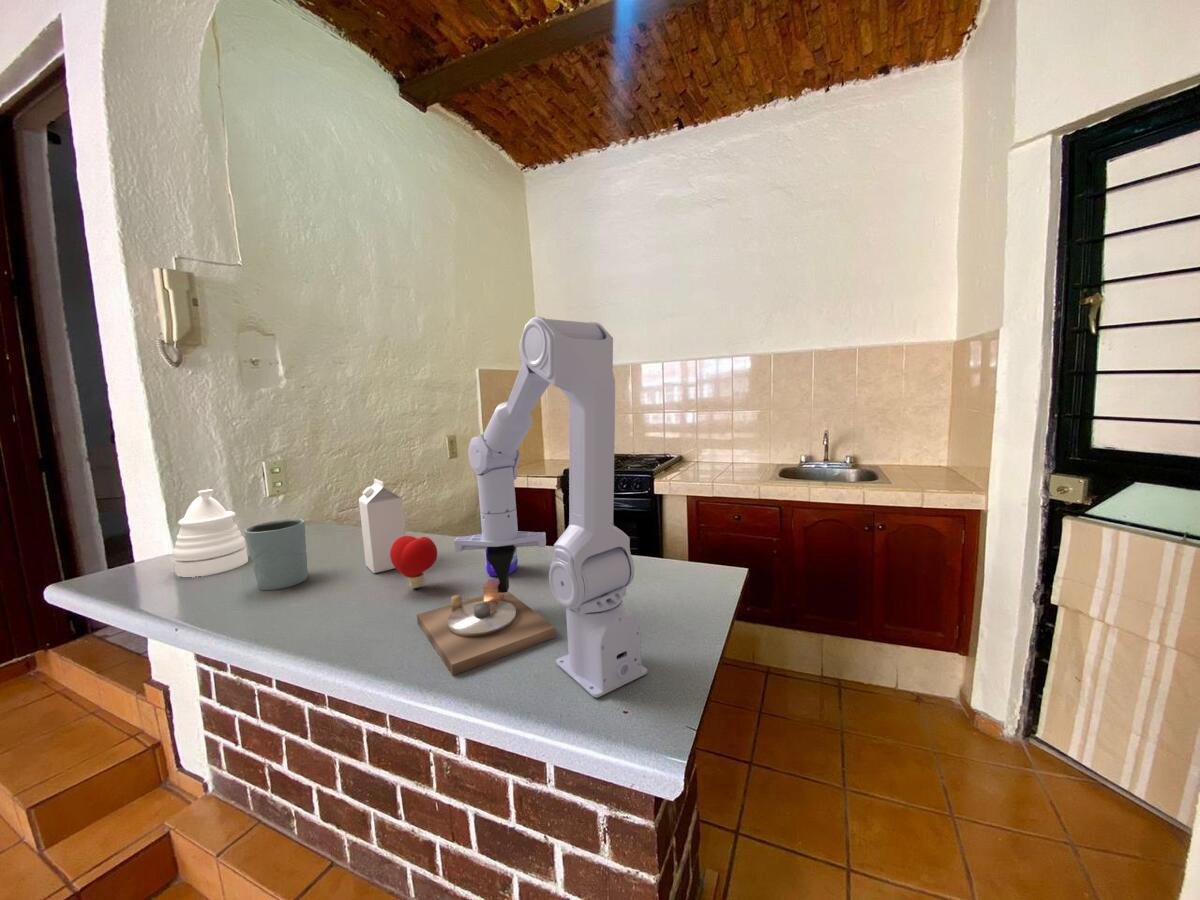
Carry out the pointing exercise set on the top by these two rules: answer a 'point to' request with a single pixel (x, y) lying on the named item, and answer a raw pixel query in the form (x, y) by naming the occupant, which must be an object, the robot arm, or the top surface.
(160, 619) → the top surface
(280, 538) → the teal cylindrical pot
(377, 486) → the milk carton
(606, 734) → the top surface
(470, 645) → the mounting board
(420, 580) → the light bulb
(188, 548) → the honey pot
